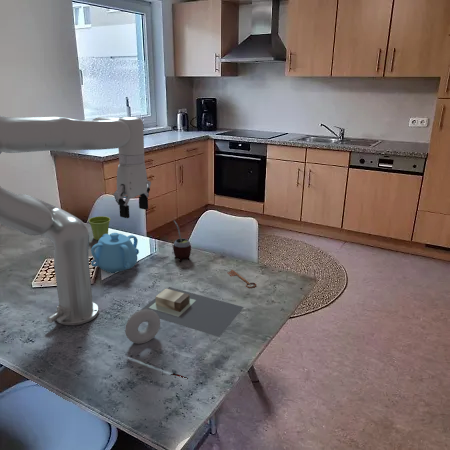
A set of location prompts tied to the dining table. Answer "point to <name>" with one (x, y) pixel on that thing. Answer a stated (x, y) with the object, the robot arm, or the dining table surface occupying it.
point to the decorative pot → (115, 252)
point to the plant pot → (99, 226)
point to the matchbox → (178, 375)
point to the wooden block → (172, 300)
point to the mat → (199, 313)
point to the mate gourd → (181, 248)
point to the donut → (137, 319)
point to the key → (241, 278)
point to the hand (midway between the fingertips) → (134, 213)
